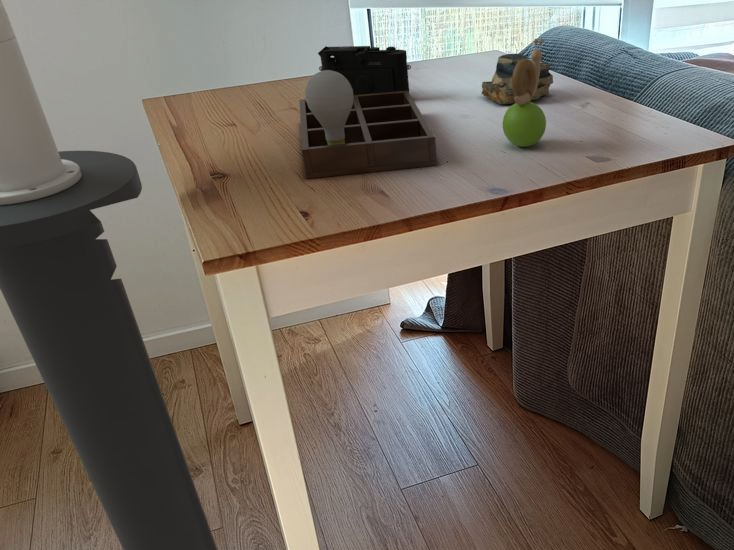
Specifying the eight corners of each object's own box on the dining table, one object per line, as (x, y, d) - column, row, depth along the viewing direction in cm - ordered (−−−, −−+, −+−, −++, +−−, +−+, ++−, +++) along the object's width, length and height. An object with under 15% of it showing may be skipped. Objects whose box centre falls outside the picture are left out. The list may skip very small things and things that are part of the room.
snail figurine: (555, 140, 89) (559, 40, 82) (533, 155, 84) (536, 50, 78) (518, 134, 91) (519, 36, 85) (494, 148, 87) (494, 46, 80)
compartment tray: (306, 178, 80) (301, 149, 78) (303, 124, 98) (299, 99, 97) (436, 165, 82) (435, 137, 81) (409, 114, 101) (407, 90, 99)
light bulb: (345, 147, 87) (334, 63, 81) (369, 157, 83) (359, 70, 77) (307, 157, 84) (292, 71, 78) (329, 168, 80) (316, 78, 75)
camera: (417, 91, 112) (413, 37, 107) (411, 102, 106) (407, 47, 102) (331, 92, 113) (323, 39, 109) (320, 104, 107) (312, 49, 103)
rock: (477, 98, 107) (476, 59, 104) (524, 88, 111) (524, 50, 108) (511, 110, 101) (511, 69, 98) (559, 98, 105) (561, 59, 102)
